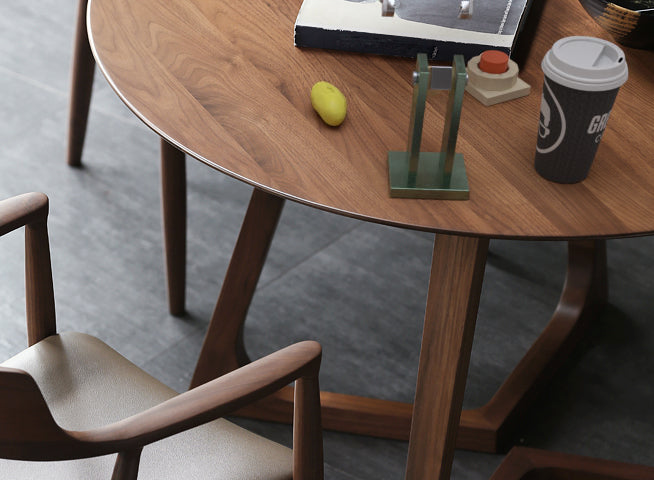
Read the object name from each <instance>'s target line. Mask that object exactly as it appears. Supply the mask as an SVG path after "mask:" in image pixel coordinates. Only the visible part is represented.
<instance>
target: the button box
mask: <svg viewBox="0 0 654 480" xmlns="http://www.w3.org/2000/svg"><path fill="white" fill-rule="evenodd" d="M480 58H481V54H480V55H476V56H472V58H471V59H470V60H468V62H467V64H466V65H467V66H466V67H465V68H466V73H468V84H467V86H465V90H464V91H465V92H467V94H470V96H471V97H473V98H475V99H476V100H477V101H478V102H480V103H481V104H482V105H483V106H484V107H489V106H492V105H493V106H494V105H496V104H501V103H504V102H507V101H511V100H515V99H519V98H523V97H526V96H529V95H530V94H531V93H530V92H531V88H532V86H531V85H529V84H528V83H527V82H525V81H524V80H522V79H521V78H520V77H519V71H520V69H519V66H518V64H517V62H515V61H513V60H512V59H511V58H509V60H508V65H507V71H506V72H505V73H502V74H489V73H486V72H483V71H481V70H480V69H479V65H480Z"/></svg>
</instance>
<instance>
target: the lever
mask: <svg viewBox="0 0 654 480" xmlns="http://www.w3.org/2000/svg"><path fill="white" fill-rule="evenodd" d="M428 67H429V81H428V89H427V97H426V99H431V98H435V97H437V96H439V95H440V94H441V93H442V92H443V91H445V92H447V91H448V92H449V90H451V81H452V66H433V65H428Z"/></svg>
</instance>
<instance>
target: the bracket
mask: <svg viewBox="0 0 654 480" xmlns="http://www.w3.org/2000/svg"><path fill="white" fill-rule="evenodd" d="M452 58H453V59H452V66H451V67H452V81H451V90H448V95H447V101H446V107H445V108H446V110H445V115H444V116H445V117H444V123H443V130H442V137H441V144H440V152H439V151H421V145H422V136H423V130H424V129H423V128H424V120H425V113H426V105H427V89H428V81H429V67H428V66H429V61H428V55H427V53H417V55H416V64H415V70H413V71H412V72H411V85H413V89H412V99H411V106H410V116H409V125H408V133H407V140H406V150H387V154H386V167H387V177H388V189H389V197H390V198H392V199H393V198H396V199H397V198H400V199H426V200H427V199H428V200H429V199H431V200H457V201H458V200H461V201H468V200H469V198H470V197H469V196H470V185H469V180H468V174H467V169H466V164H465V158H464V153H463V152H456V149H457V142H458V137H459V127H460V122H461V116H462V109H463V102H464V96H465V91H466V90H465V86H467V84H468V73H466V68H467V67H466V63H465V58H464V55H463V54H454V55H453V57H452Z"/></svg>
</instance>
